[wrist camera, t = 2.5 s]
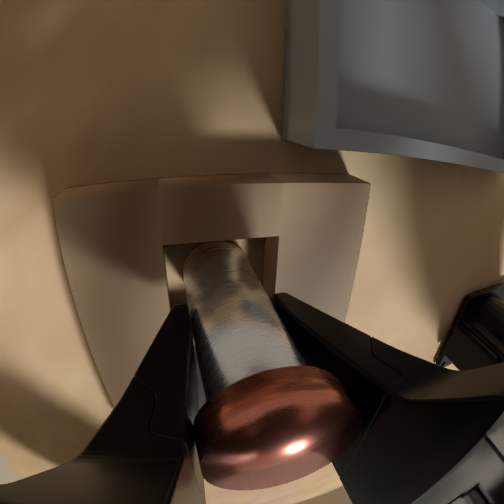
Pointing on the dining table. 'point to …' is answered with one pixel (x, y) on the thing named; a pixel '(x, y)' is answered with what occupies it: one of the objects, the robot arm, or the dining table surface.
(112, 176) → the dining table surface
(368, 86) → the tray
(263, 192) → the block
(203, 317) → the lock pin
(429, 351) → the dining table surface
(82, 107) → the dining table surface
